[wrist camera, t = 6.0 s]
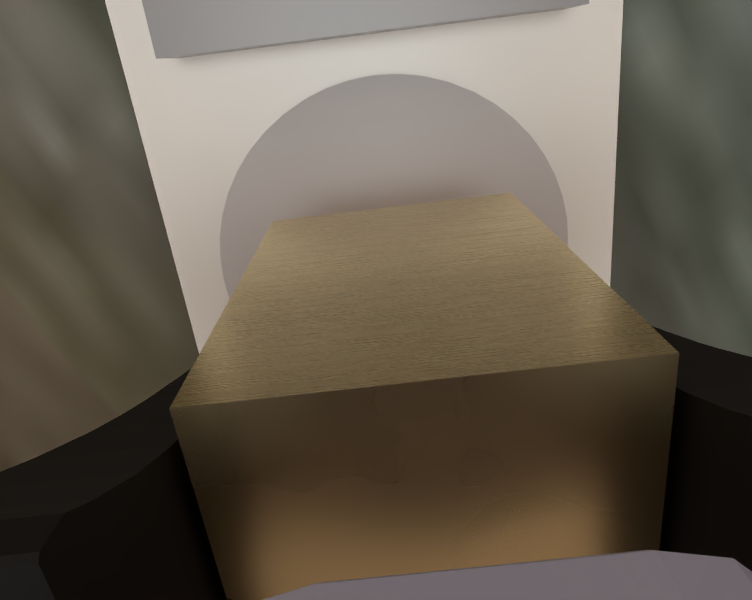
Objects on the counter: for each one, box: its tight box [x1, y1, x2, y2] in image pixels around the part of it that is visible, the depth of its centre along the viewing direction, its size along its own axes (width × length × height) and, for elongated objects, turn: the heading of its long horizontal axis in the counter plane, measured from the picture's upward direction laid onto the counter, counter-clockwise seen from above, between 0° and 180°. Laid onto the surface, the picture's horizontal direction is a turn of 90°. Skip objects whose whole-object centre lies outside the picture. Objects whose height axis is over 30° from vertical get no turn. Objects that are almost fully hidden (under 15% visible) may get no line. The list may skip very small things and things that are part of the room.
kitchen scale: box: [105, 0, 623, 354], centre depth 16 cm, size 15×13×5 cm
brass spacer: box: [169, 193, 679, 600], centre depth 10 cm, size 5×5×7 cm
